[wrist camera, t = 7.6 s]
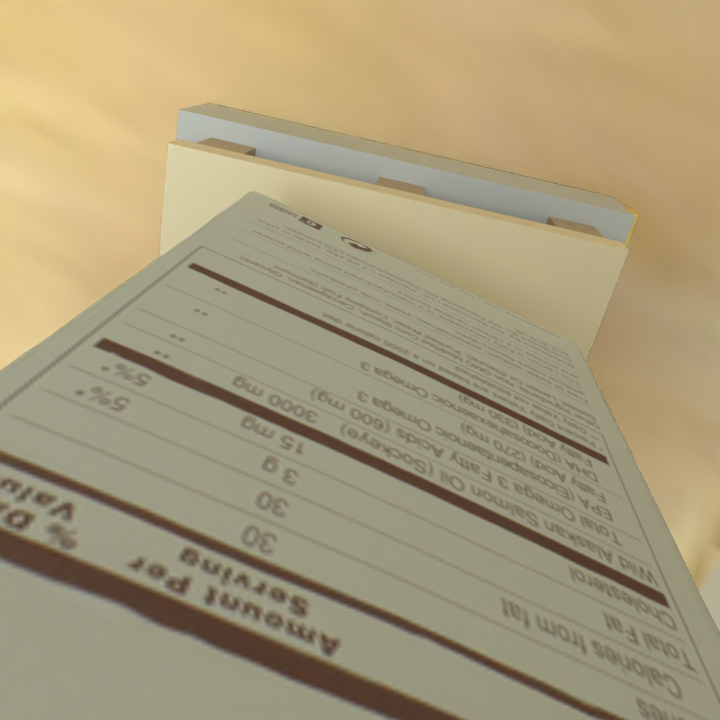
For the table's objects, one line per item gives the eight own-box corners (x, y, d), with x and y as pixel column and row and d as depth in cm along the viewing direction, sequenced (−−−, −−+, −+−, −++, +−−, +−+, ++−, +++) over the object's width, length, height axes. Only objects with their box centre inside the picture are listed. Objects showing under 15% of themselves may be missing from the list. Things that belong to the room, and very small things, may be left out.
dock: (617, 197, 19) (665, 236, 15) (474, 583, 26) (481, 682, 22) (209, 103, 20) (149, 115, 16) (166, 510, 26) (116, 595, 22)
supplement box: (422, 582, 17) (385, 1750, 5) (142, 458, 16) (-603, 1482, 5) (590, 336, 14) (1412, 1864, 2) (252, 170, 13) (-1212, 1099, 1)
